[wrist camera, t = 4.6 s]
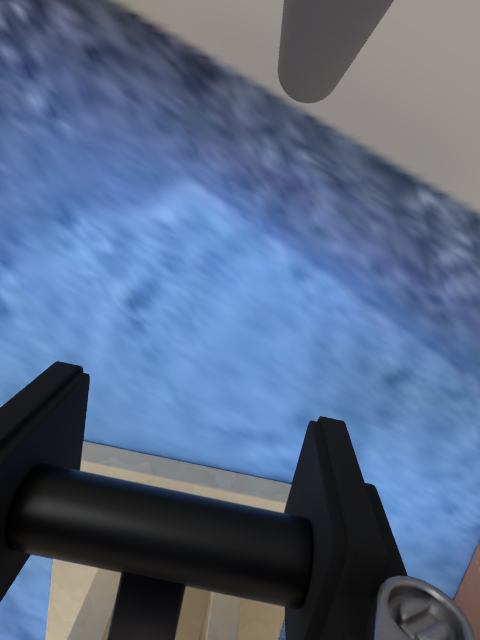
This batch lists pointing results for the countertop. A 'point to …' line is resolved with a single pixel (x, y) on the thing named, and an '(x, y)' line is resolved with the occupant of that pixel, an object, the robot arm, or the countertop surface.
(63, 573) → the lever bracket
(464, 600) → the control block
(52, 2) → the countertop surface
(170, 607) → the black t-handle lever
